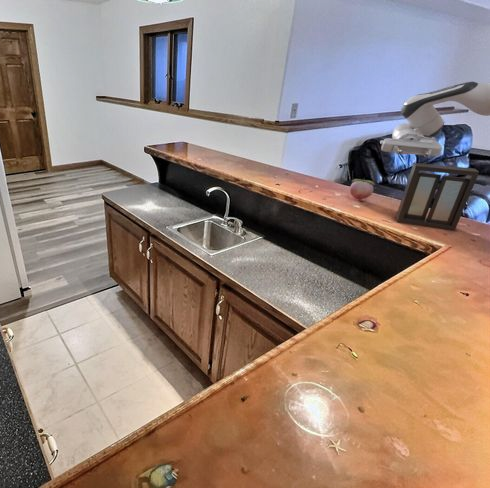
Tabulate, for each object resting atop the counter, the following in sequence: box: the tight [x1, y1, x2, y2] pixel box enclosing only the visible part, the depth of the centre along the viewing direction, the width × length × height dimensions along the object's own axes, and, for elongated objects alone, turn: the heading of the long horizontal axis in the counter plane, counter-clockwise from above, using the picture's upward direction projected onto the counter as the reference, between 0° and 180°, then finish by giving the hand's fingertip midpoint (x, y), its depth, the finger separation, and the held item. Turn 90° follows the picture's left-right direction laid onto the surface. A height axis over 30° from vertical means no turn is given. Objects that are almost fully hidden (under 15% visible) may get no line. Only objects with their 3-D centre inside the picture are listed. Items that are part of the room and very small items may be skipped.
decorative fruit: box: [349, 177, 376, 201], centre depth 153 cm, size 9×8×10 cm
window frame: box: [395, 162, 480, 231], centre depth 126 cm, size 18×5×22 cm, turn 65°
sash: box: [404, 171, 442, 219], centre depth 130 cm, size 7×5×17 cm
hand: (413, 153), depth 134 cm, fingers open, 8 cm apart
